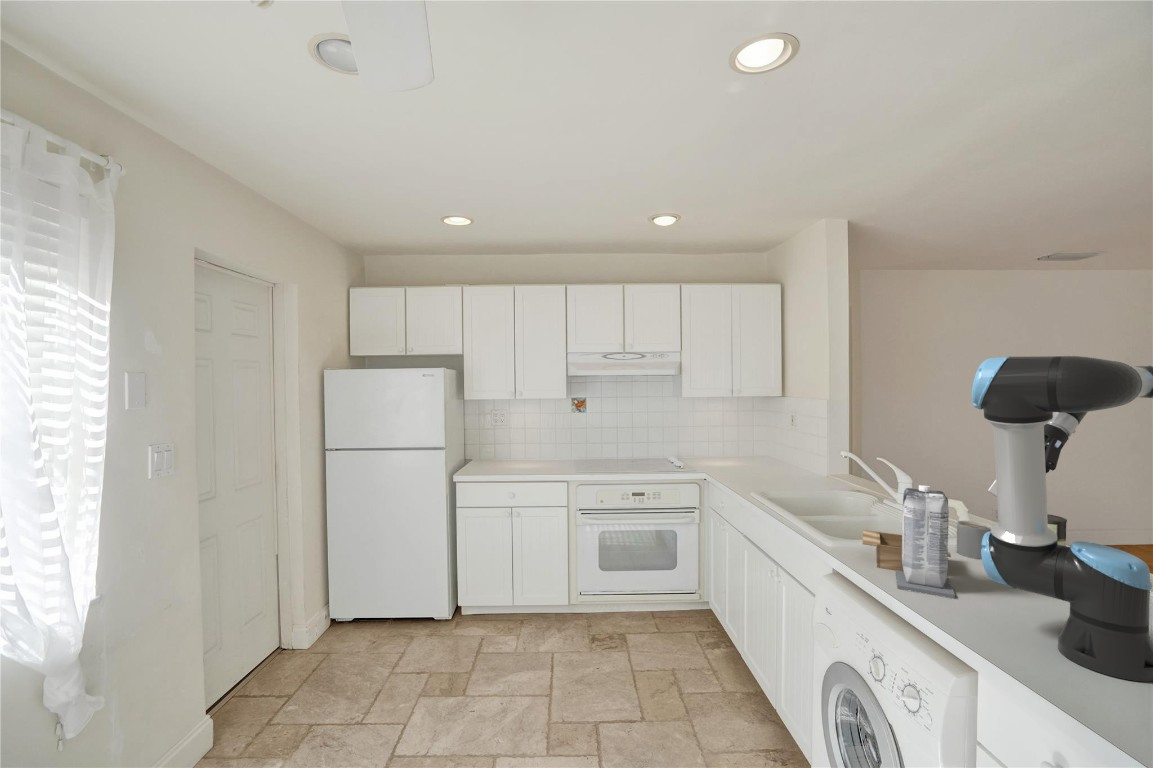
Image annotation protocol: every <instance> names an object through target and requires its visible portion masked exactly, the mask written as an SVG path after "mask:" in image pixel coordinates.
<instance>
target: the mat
mask: <svg viewBox="0 0 1153 768" xmlns="http://www.w3.org/2000/svg"><path fill="white" fill-rule="evenodd" d="M895 579H896V580H897V581H896V587H897V589H898V588H899V589H898V590H902V589H905V590H904V591H908V590H911V591H910V592H914V591H916V592H915V593H919V592H921V594H925V593H927V594H926V595H931V594H932V595H931V596H936V595H938V596H937V597H942V596H945V597H944V598H948V597H951V598H950V599H954V598H956V597H955V596H956V595H955V592H954V590H953V587H952V584H951V582H950V580H949V578H947V577H946V580H945V584H944V586H943V588H937V587H931V586H926V585H920V584H913V583H908V582H907V581H906V577H905V574H904V571H899V570H895Z"/></svg>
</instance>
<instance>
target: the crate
mask: <svg viewBox="0 0 1153 768" xmlns="http://www.w3.org/2000/svg"><path fill="white" fill-rule="evenodd" d="M862 531H863V532H862V545H864V546H870V547H871V546H873V547H876V555H875V556H876V568H878V567H879V569H884V570H893V571H896V570H899V571H904V570H903V565H902V534H897V533H896V534H895V533H889V532H884V531H883V532H882V531H874V530H868V529H867V530H866V529H863V530H862ZM948 557H949V558H952V555H951V553H950V550H949V549H948Z"/></svg>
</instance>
